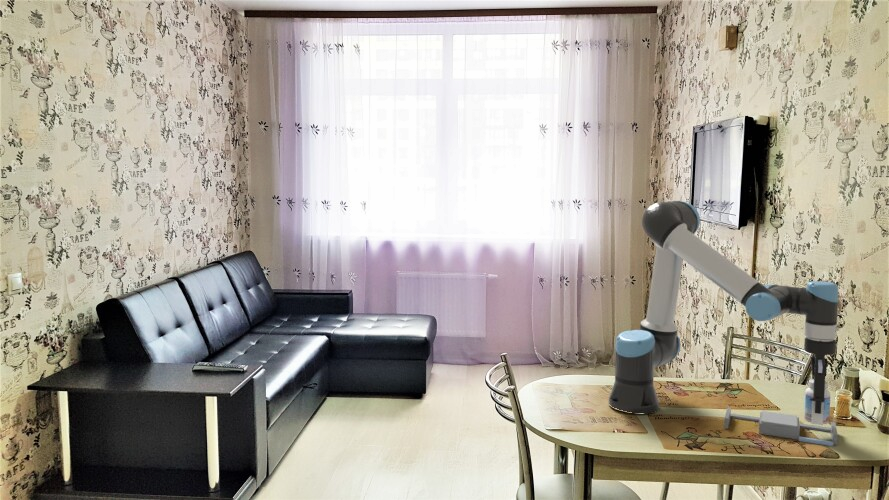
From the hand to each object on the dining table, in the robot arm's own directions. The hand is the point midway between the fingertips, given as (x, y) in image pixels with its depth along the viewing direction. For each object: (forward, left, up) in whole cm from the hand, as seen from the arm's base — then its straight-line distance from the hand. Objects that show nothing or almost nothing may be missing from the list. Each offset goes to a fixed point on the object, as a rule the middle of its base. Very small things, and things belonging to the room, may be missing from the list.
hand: (816, 419), depth 183 cm
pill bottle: (0, 0, -1) cm, 1 cm away
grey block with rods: (-9, 0, -5) cm, 10 cm away
